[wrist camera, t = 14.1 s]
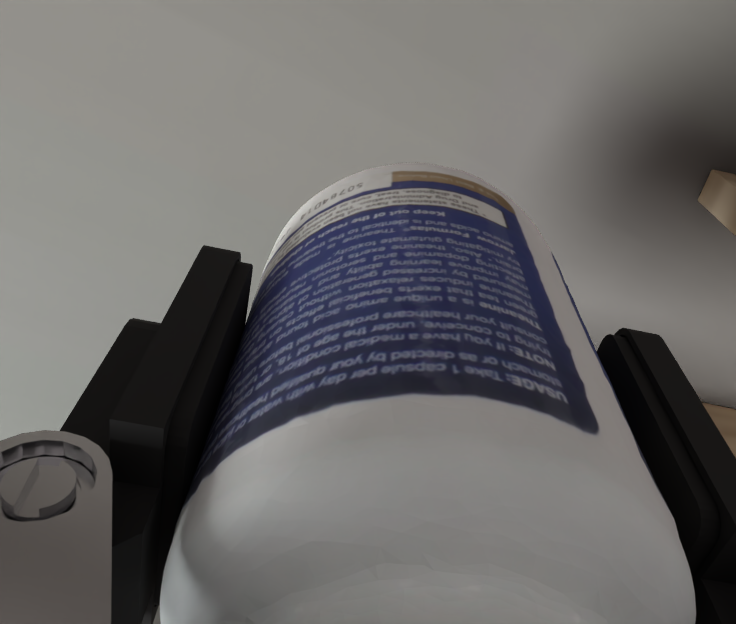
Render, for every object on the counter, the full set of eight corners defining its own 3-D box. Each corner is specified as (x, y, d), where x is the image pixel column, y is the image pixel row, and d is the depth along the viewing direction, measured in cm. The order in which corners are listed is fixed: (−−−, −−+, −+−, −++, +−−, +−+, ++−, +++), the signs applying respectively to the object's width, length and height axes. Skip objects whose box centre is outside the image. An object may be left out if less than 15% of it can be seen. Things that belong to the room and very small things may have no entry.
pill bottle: (208, 294, 13) (-120, 998, 5) (409, 86, 11) (465, 698, 3) (406, 445, 15) (425, 1143, 7) (611, 293, 13) (1025, 1038, 4)
